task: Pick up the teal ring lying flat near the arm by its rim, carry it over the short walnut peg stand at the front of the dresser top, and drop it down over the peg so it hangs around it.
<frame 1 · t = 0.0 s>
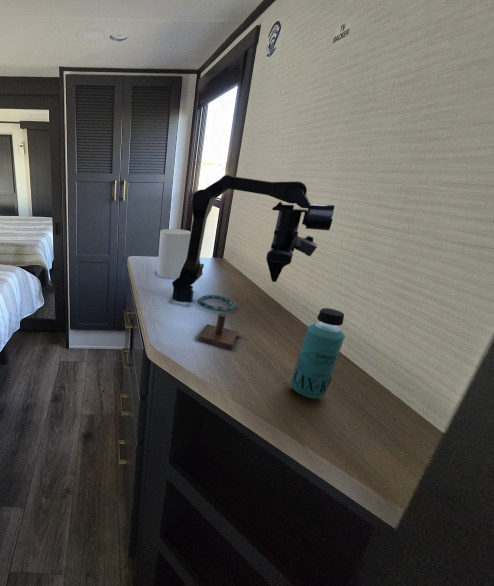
hand: (275, 277, 96), 15 cm above the table, tool pointing down, fingers open, 9 cm apart
beverage bottle: (305, 395, 68), on the table
canister: (171, 274, 147), on the table
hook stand: (218, 338, 90), on the table
teal ring: (216, 303, 112), point 1 cm above the table
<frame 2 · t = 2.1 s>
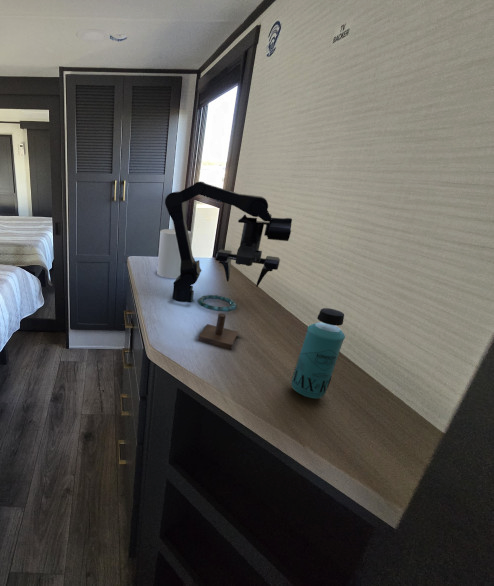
hand: (242, 283, 105), 10 cm above the table, tool pointing down, fingers open, 9 cm apart
nothing on the table moved.
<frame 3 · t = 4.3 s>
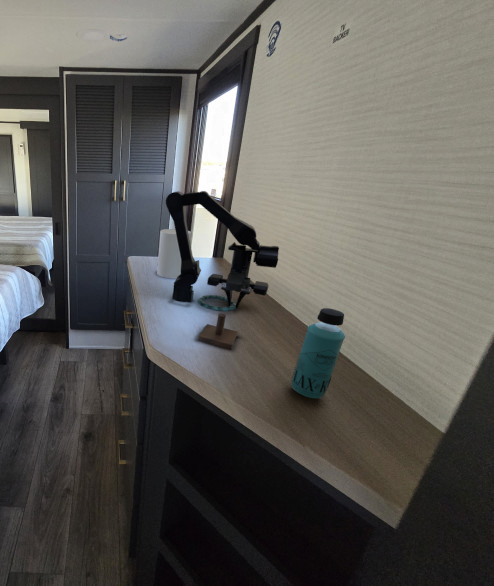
hand: (232, 306, 109), 1 cm above the table, tool pointing down, fingers closed on teal ring, 2 cm apart
teal ring: (216, 303, 112), point 1 cm above the table, touching gripper
everything else where it was.
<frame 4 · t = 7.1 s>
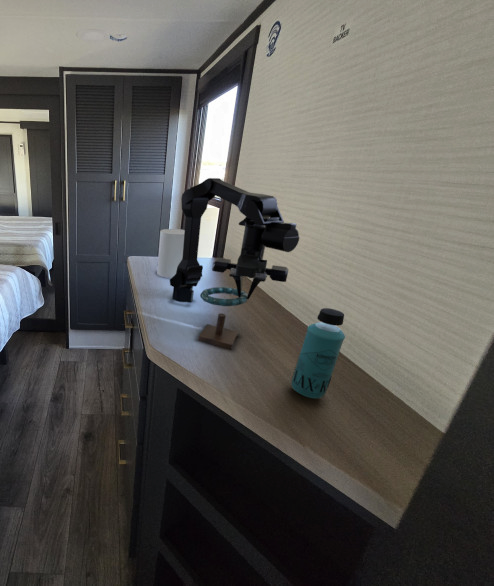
hand: (243, 297, 89), 11 cm above the table, tool pointing down, fingers closed on teal ring
teal ring: (223, 296, 92), point 11 cm above the table, tilted 6°, touching gripper
everything else where it was.
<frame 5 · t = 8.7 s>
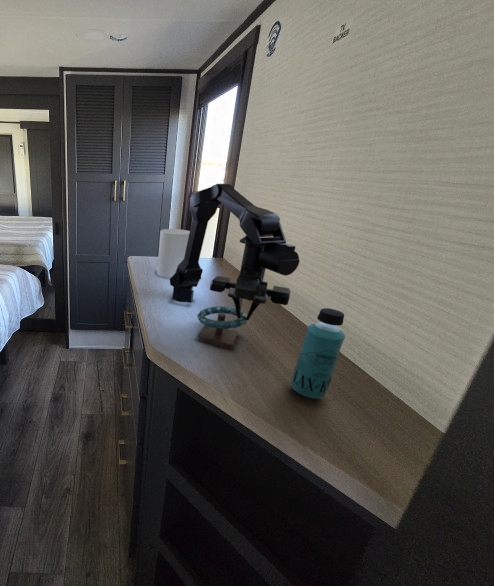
hand: (242, 318, 85), 8 cm above the table, tool pointing down, fingers closed on teal ring
teal ring: (221, 316, 88), point 7 cm above the table, tilted 8°, touching gripper
everything else where it was.
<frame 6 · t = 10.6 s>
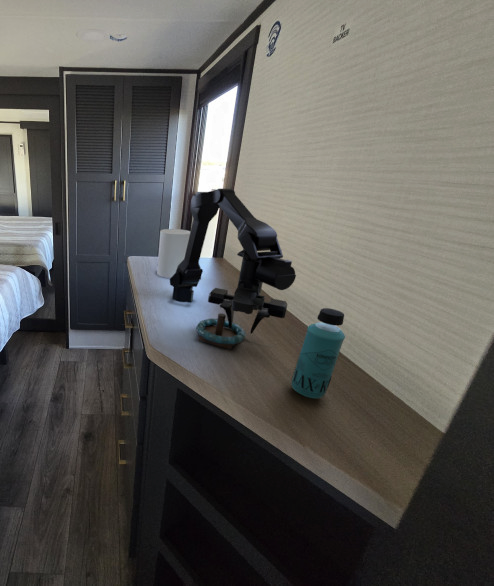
hand: (240, 330, 86), 4 cm above the table, tool pointing down, fingers open, 5 cm apart
teal ring: (220, 330, 89), point 2 cm above the table, touching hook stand
everything else where it was.
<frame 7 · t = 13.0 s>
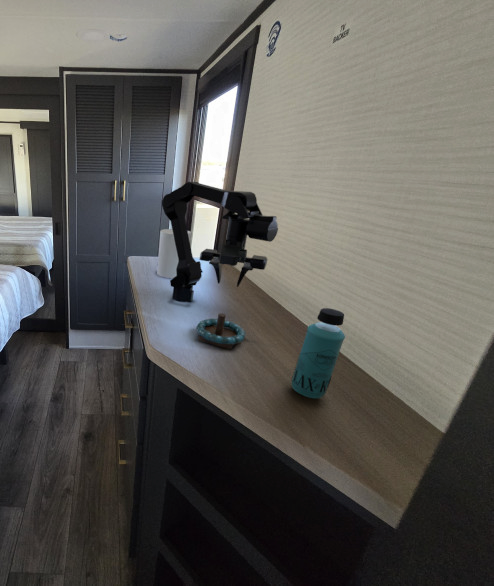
hand: (228, 284, 99), 12 cm above the table, tool pointing down, fingers open, 5 cm apart
nothing on the table moved.
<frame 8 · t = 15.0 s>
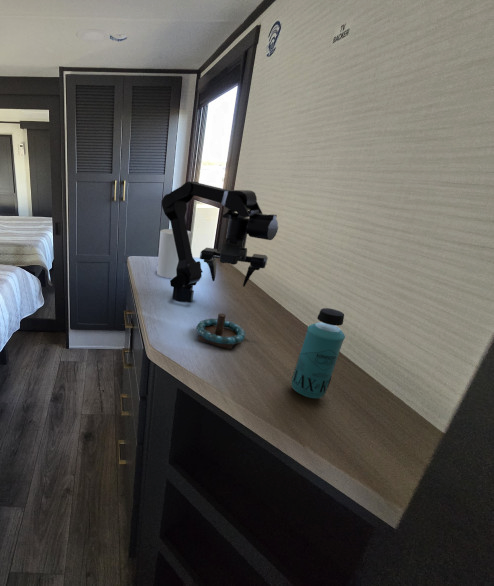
hand: (228, 283, 99), 12 cm above the table, tool pointing down, fingers open, 9 cm apart
nothing on the table moved.
at the end: teal ring 0.3 cm from the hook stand (horizontally); teal ring point 2.5 cm above the table; the gripper is holding nothing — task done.
